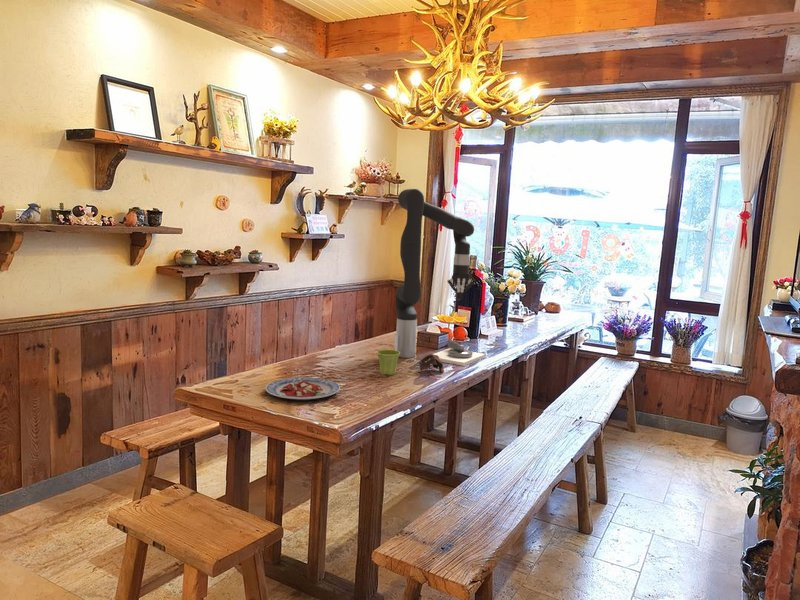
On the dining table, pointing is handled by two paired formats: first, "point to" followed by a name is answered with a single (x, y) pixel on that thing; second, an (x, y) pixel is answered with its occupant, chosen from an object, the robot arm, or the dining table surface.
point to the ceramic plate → (302, 388)
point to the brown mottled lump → (431, 362)
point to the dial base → (458, 361)
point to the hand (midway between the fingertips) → (459, 300)
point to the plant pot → (388, 361)
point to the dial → (458, 350)
